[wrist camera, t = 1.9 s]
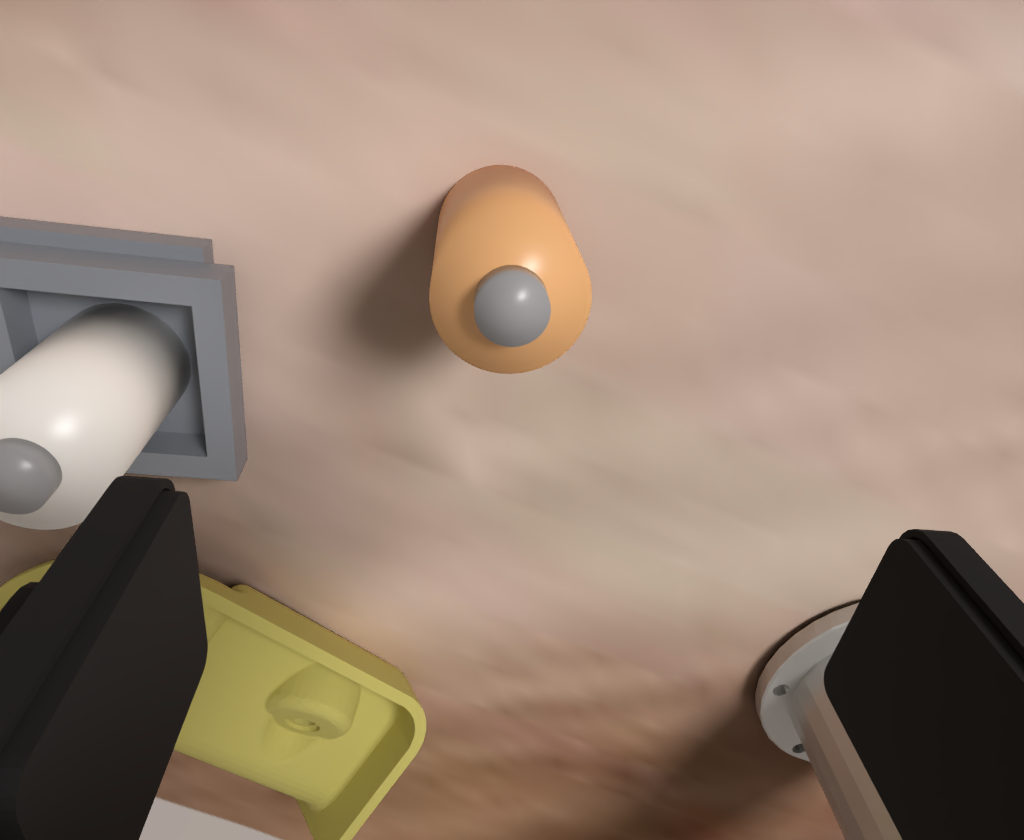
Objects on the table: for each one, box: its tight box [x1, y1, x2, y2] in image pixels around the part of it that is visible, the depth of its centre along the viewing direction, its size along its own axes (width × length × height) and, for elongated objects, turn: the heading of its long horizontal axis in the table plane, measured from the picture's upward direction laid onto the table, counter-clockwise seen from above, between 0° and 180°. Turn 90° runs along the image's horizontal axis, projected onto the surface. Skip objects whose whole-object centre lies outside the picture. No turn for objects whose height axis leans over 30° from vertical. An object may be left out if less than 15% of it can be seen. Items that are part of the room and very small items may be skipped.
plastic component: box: [0, 559, 426, 840], centre depth 33 cm, size 20×7×10 cm
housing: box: [0, 217, 247, 481], centre depth 25 cm, size 16×9×2 cm, turn 82°
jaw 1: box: [429, 165, 592, 374], centre depth 22 cm, size 4×4×8 cm
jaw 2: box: [0, 303, 191, 530], centre depth 22 cm, size 4×4×8 cm
